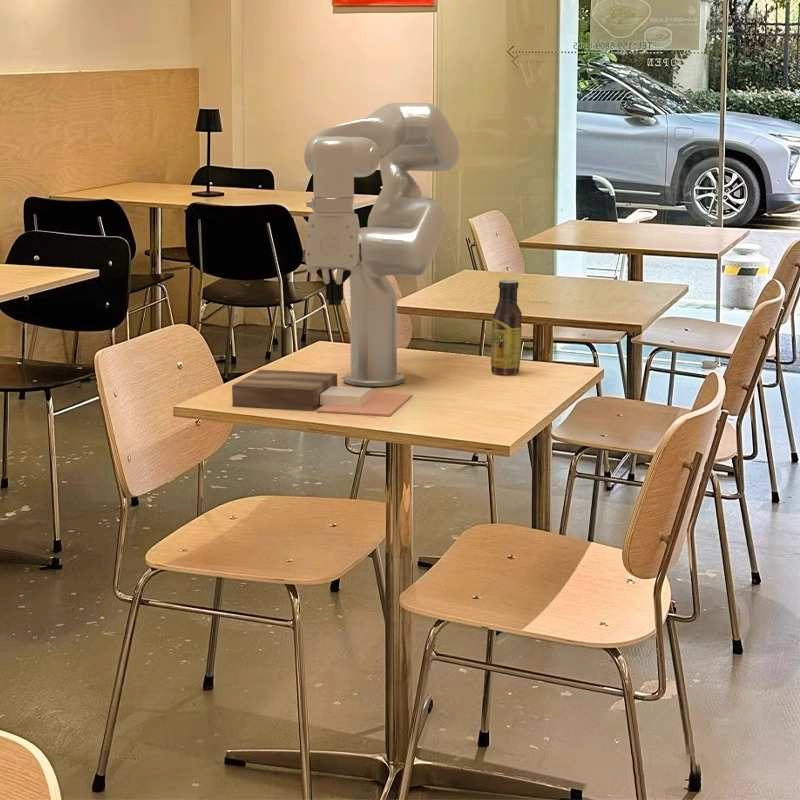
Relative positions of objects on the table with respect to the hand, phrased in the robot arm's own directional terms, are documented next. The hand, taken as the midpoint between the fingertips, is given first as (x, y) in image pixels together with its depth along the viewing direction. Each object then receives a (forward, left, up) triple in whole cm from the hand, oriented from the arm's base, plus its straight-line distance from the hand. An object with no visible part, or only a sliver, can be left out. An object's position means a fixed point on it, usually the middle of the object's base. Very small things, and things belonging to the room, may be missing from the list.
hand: (334, 304), depth 257 cm
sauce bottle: (-36, +27, -19) cm, 49 cm away
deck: (0, -10, -19) cm, 21 cm away
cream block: (+1, +2, -19) cm, 19 cm away
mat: (0, +6, -19) cm, 20 cm away
